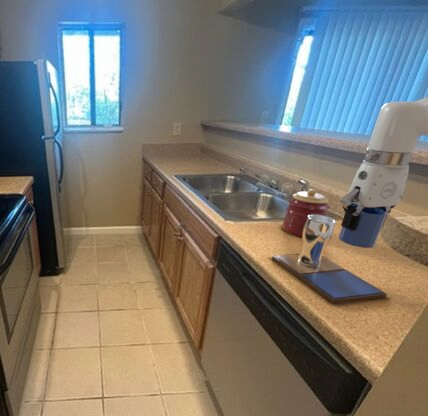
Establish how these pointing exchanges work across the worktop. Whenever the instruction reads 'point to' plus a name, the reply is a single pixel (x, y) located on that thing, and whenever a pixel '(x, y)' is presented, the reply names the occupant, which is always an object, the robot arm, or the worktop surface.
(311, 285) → the sorting board
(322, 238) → the beer glass
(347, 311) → the worktop surface
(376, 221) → the blue tumbler
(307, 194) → the kitchen canister
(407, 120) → the robot arm
